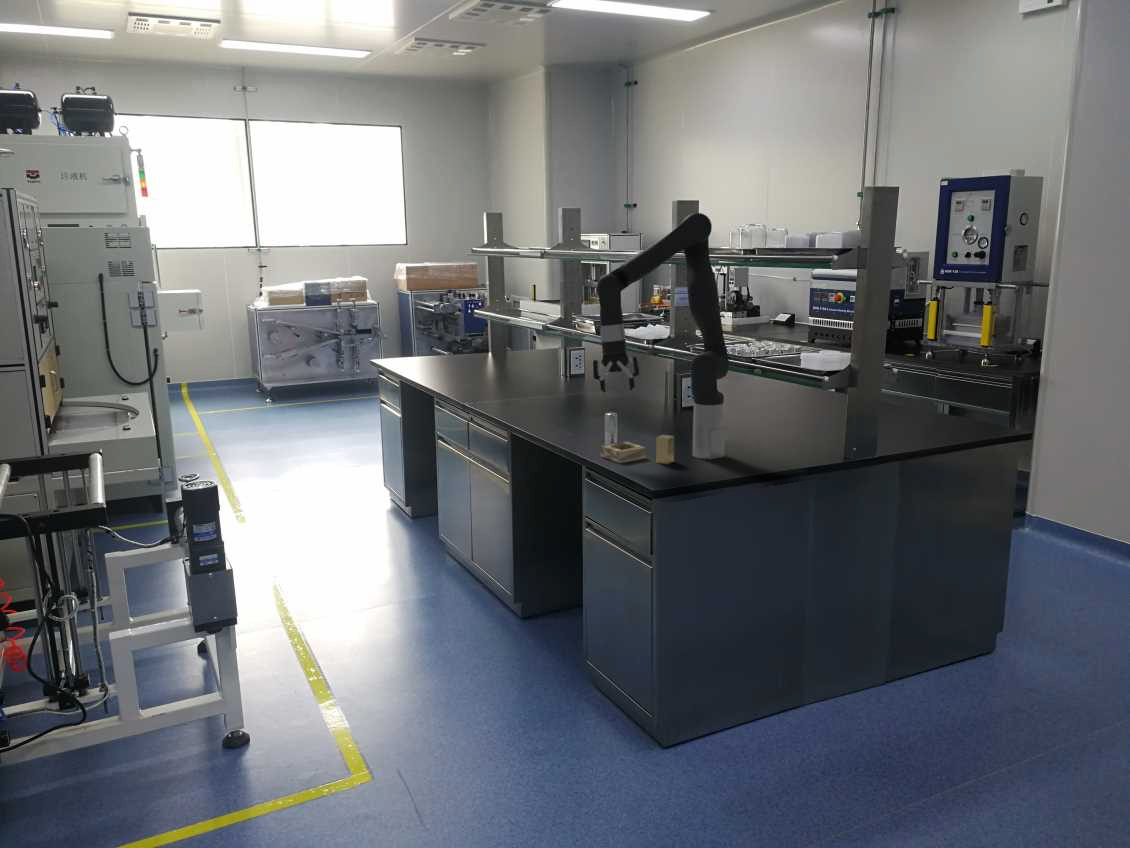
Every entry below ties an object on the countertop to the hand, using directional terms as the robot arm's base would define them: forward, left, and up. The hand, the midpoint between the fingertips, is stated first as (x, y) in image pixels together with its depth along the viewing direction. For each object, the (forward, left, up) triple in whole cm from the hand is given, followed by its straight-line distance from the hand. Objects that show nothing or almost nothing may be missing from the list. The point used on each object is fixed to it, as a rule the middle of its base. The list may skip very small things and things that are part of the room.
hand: (617, 391), depth 267 cm
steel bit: (+7, -3, -21) cm, 22 cm away
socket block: (-3, 0, -21) cm, 21 cm away
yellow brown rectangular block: (-15, -7, -21) cm, 27 cm away
